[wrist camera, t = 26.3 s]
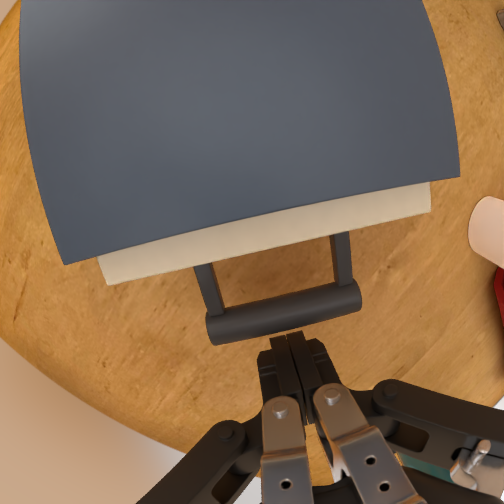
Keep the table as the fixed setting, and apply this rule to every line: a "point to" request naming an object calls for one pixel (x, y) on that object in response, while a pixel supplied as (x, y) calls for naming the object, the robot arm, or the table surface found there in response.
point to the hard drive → (501, 17)
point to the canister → (425, 467)
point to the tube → (488, 229)
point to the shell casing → (500, 290)
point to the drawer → (263, 238)
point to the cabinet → (224, 111)
